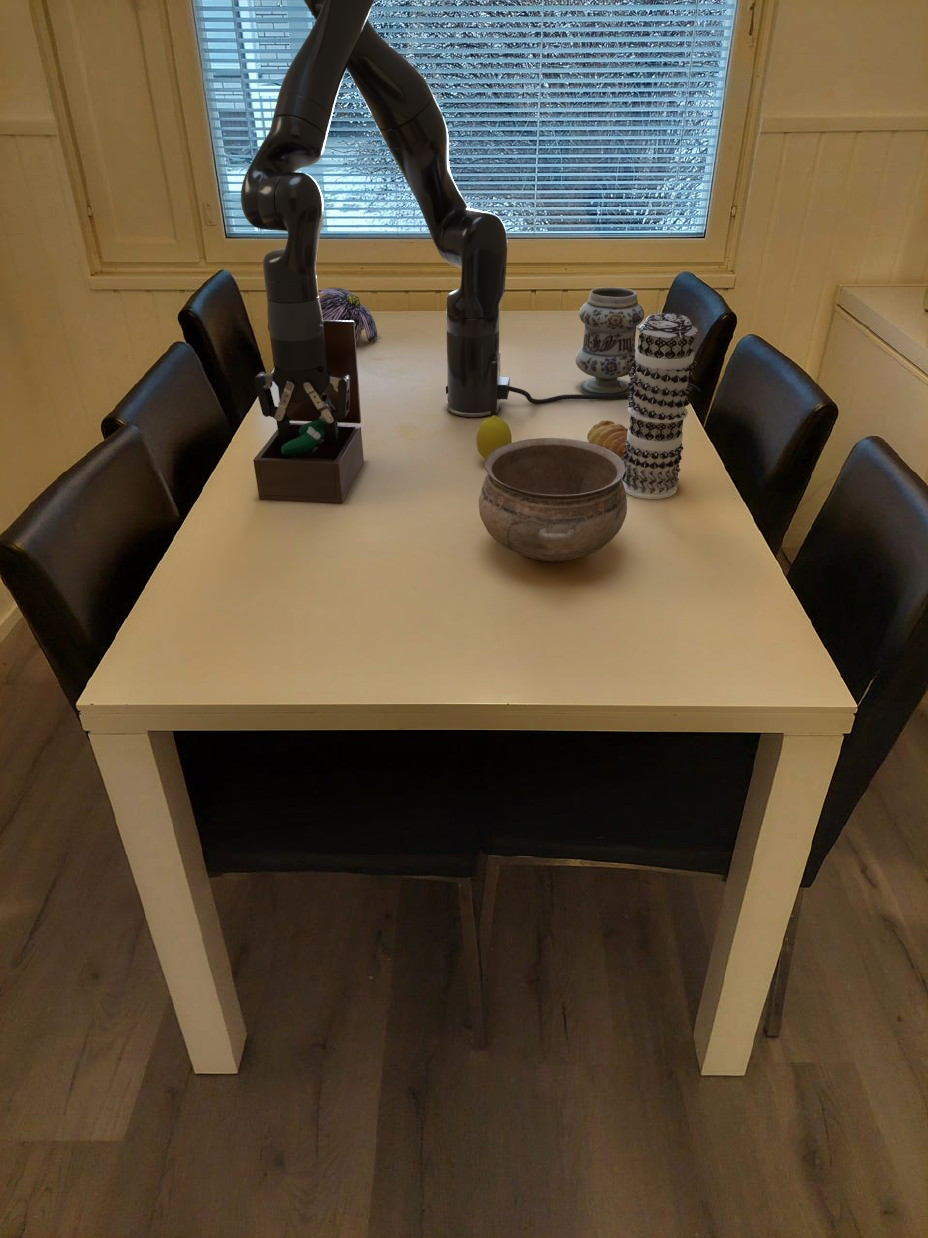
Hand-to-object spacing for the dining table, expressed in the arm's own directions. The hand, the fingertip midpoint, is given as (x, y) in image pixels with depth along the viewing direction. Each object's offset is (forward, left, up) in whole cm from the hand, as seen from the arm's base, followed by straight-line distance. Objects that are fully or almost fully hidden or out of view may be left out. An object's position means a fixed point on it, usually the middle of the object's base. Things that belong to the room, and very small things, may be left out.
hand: (309, 443), depth 132 cm
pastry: (-46, -17, -6) cm, 49 cm away
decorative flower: (+12, -73, -6) cm, 74 cm away
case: (0, 0, -6) cm, 6 cm away
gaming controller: (0, 0, -1) cm, 1 cm away
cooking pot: (-37, +18, -6) cm, 42 cm away
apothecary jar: (-45, -46, -6) cm, 65 cm away
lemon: (-27, -9, -6) cm, 29 cm away
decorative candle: (-51, -3, -6) cm, 51 cm away
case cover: (0, -7, +8) cm, 11 cm away
